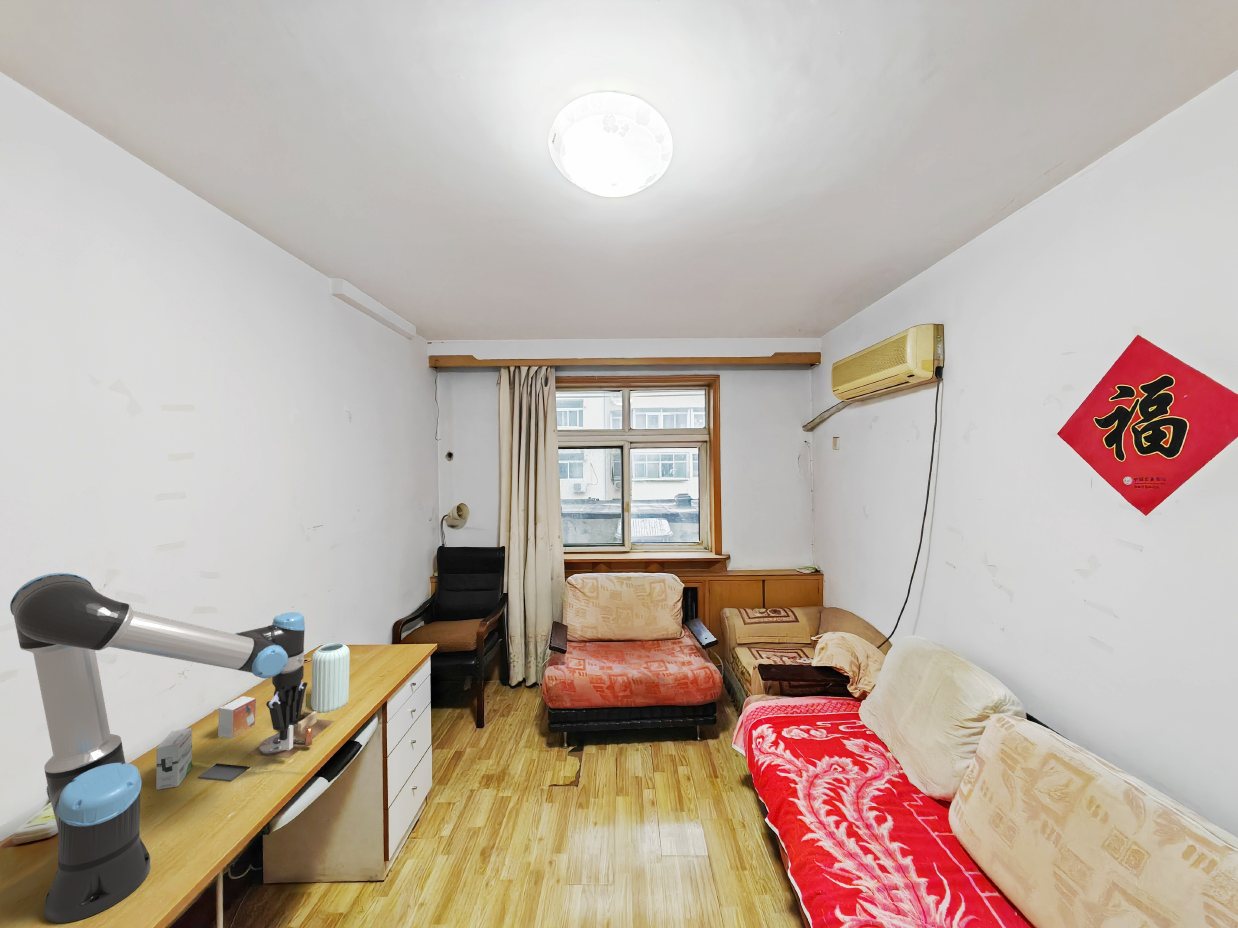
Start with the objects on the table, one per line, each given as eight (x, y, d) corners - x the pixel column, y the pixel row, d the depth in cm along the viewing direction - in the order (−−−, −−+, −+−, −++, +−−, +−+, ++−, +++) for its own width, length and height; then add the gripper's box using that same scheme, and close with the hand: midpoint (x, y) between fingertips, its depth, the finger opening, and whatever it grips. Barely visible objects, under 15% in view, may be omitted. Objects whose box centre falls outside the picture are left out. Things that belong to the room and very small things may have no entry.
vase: (347, 697, 181) (348, 638, 181) (349, 711, 171) (351, 649, 171) (311, 705, 175) (312, 644, 174) (311, 720, 165) (312, 656, 165)
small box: (231, 743, 151) (232, 710, 151) (217, 740, 152) (217, 707, 152) (255, 729, 159) (256, 697, 159) (241, 726, 160) (242, 695, 160)
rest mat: (230, 781, 134) (230, 779, 134) (197, 778, 135) (197, 776, 135) (260, 758, 144) (260, 757, 144) (229, 755, 145) (229, 754, 145)
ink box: (171, 770, 138) (172, 729, 138) (192, 767, 140) (193, 726, 139) (154, 790, 130) (155, 747, 130) (177, 786, 132) (178, 743, 131)
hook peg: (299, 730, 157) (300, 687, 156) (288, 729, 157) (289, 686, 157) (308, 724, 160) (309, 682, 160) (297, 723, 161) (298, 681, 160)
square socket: (300, 734, 155) (300, 723, 155) (279, 732, 155) (279, 721, 155) (316, 721, 162) (316, 711, 162) (296, 719, 163) (296, 709, 162)
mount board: (289, 762, 143) (289, 757, 143) (248, 758, 144) (248, 753, 144) (334, 725, 163) (334, 720, 163) (298, 721, 164) (298, 717, 164)
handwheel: (300, 757, 143) (300, 736, 142) (251, 752, 144) (251, 732, 144) (321, 739, 152) (322, 720, 151) (275, 735, 153) (275, 715, 153)
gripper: (282, 679, 133) (281, 763, 134) (316, 659, 146) (314, 736, 147) (257, 677, 134) (255, 761, 134) (293, 657, 147) (291, 734, 147)
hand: (286, 748), depth 140 cm, fingers closed
